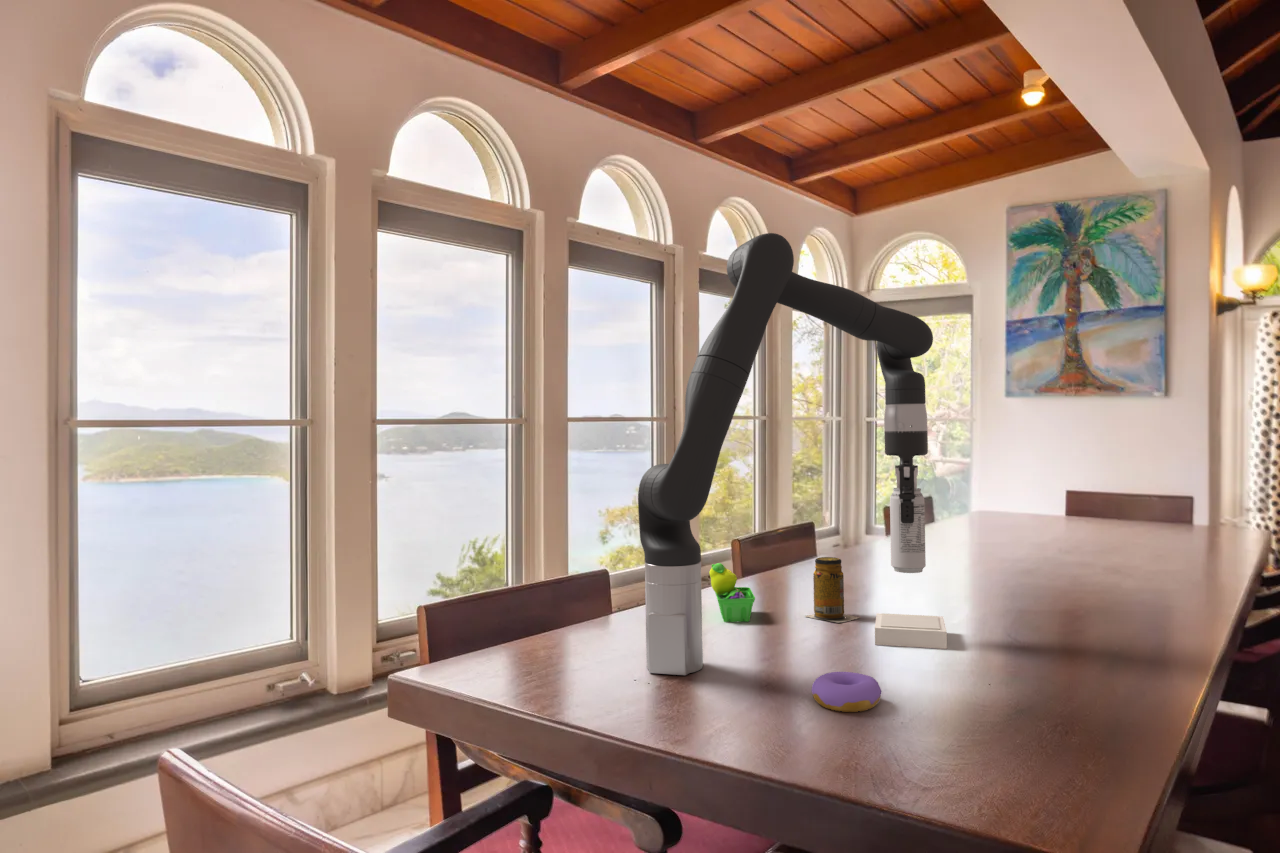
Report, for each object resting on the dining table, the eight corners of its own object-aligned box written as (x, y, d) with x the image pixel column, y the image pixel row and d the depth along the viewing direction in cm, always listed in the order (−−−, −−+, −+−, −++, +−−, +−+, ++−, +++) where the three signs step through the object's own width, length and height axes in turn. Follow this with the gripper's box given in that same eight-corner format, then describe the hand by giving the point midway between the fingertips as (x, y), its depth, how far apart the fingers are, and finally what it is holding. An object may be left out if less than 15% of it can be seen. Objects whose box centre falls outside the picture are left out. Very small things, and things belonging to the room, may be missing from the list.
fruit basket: (756, 623, 166) (755, 566, 166) (712, 624, 166) (711, 567, 166) (750, 610, 177) (749, 558, 177) (708, 611, 178) (707, 558, 178)
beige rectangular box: (946, 648, 144) (946, 630, 144) (875, 644, 148) (874, 626, 148) (943, 632, 156) (943, 615, 156) (876, 629, 159) (876, 612, 159)
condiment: (826, 611, 175) (825, 554, 175) (860, 618, 169) (859, 559, 169) (804, 617, 171) (803, 558, 171) (838, 624, 164) (836, 563, 164)
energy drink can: (918, 567, 155) (917, 487, 155) (930, 573, 149) (929, 489, 149) (886, 568, 155) (885, 487, 155) (897, 574, 149) (896, 490, 149)
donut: (829, 685, 124) (835, 655, 124) (888, 711, 118) (894, 679, 118) (797, 703, 117) (802, 671, 116) (857, 731, 111) (864, 697, 110)
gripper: (928, 429, 144) (930, 526, 144) (926, 428, 158) (927, 517, 157) (883, 429, 146) (885, 525, 146) (885, 429, 160) (886, 516, 160)
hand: (907, 520), depth 152 cm, fingers closed on energy drink can, 6 cm apart
